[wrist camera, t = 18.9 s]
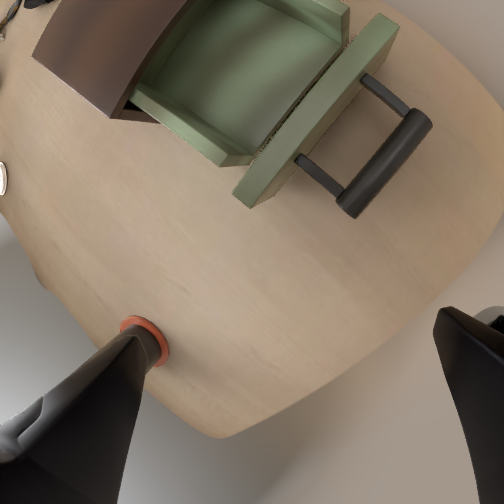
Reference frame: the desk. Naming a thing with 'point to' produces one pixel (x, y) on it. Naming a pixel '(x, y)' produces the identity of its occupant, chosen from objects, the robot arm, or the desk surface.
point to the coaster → (154, 331)
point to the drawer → (275, 91)
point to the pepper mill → (146, 339)
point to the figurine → (9, 16)
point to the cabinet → (107, 48)
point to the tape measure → (35, 3)
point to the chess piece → (2, 179)
